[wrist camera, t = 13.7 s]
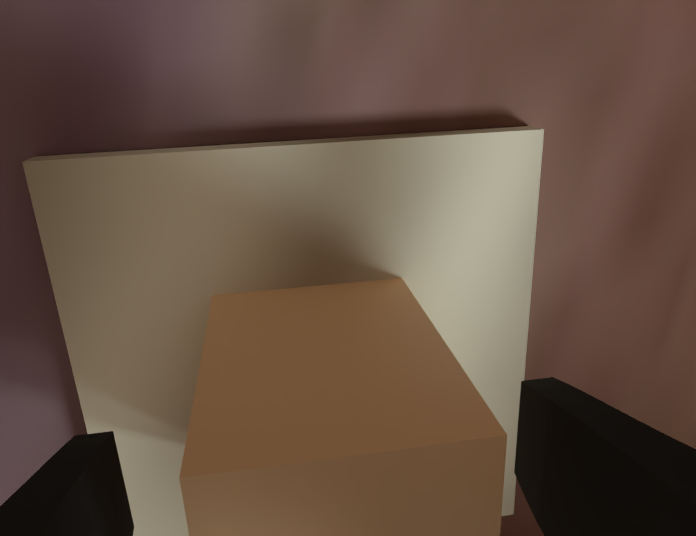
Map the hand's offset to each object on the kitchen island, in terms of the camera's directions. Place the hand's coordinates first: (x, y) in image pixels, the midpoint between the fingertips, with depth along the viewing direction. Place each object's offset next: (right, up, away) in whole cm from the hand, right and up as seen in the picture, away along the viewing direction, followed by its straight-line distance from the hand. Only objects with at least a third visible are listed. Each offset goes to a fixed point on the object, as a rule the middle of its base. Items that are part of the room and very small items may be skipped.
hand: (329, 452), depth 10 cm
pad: (-1, +1, +3) cm, 3 cm away
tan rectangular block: (0, +1, +3) cm, 3 cm away
